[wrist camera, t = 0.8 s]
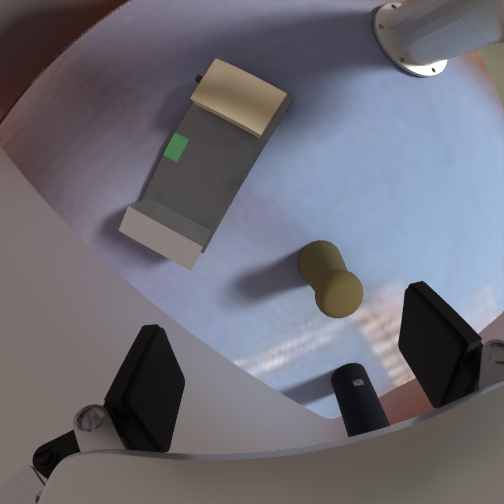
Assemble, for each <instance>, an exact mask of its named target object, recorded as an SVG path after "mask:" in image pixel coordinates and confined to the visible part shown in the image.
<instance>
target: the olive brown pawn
mask: <svg viewBox="0 0 504 504" xmlns="http://www.w3.org/2000/svg"><path fill="white" fill-rule="evenodd" d="M298 268H299V272H300V273H301V275H302V276H303V277H304V279H305V280H306V281H307V282H308V283H309V285H310V286H311V287H312V288H313V290H314V291H315V300H316V304H317V306H318V307H319V309H320V310H321V311H322V312H323V313H324V314H325V315H327V316H329V317H332V318H343V317H347V316H349V315H351V314H352V313H354V312H355V311H356V310H357V309H358V307H359V305H360V304H361V302H362V298H363V288H362V284H361V282H360V280H359V279H358V278H357V277H356V276H355V275H354V274H353V273H351V272H349V271H348V270H347V268H346V266H345V263H344V261H343V259H342V257H341V254H340V252H339V250H338V249H337V247H336V246H335V245H333V244H332V243H330V242H328V241H320V240H318V241H315V242H312V243H310V244H308V245H307V246H305V248H304V249H303V250H302V251H301V253H300V255H299V258H298Z"/></svg>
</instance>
